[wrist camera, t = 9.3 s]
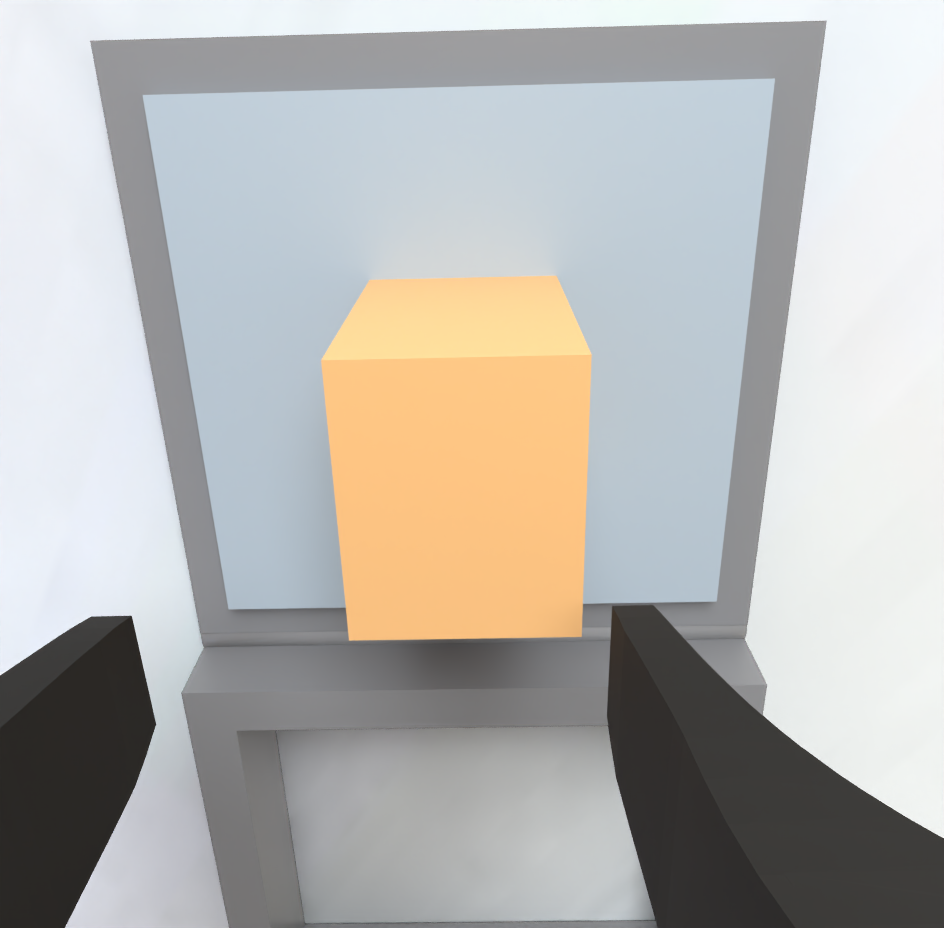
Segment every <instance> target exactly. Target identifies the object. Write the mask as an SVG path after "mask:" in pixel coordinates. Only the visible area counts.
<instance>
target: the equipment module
mask: <svg viewBox="0 0 944 928" xmlns="http://www.w3.org/2000/svg"><path fill="white" fill-rule="evenodd" d="M591 358H592V354H591V352H590V350H589V348H588V345H587V343H586V341H585V339H584V336H583V334H582V332H581V330H580V327H579V325H578V323H577V321H576V318H575V316H574V314H573V312H572V309H571V307H570V305H569V303H568V300H567V298H566V296H565V294H564V291H563V289H562V287H561V285H560V282H559V280H558V278H557V276H516V277H472V278H427V279H383V280H369V282H368V283H367V285H366V287H365V288H364V290H363V292H362V293H361V295H360V297H359V298H358V300H357V302H356V303H355V305H354V307H353V308H352V310H351V312H350V313H349V315H348V316H347V318H346V320H345V321H344V323H343V325H342V326H341V328H340V330H339V331H338V333H337V335H336V336H335V338H334V340H333V341H332V343H331V345H330V346H329V348H328V350H327V351H326V353H325V355H324V356H323V358H322V360H321V365H322V375H323V385H324V395H325V405H326V415H327V425H328V435H329V445H330V455H331V465H332V475H333V485H334V495H335V505H336V515H337V525H338V535H339V545H340V555H341V565H342V574H343V584H344V594H345V604H346V614H347V624H348V634H349V641H351V640H416V639H480V638H544V637H582V613H583V585H584V557H585V528H586V500H587V472H588V443H589V415H590V386H591Z"/></svg>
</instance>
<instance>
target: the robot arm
mask: <svg viewBox="0 0 944 928" xmlns="http://www.w3.org/2000/svg"><path fill="white" fill-rule="evenodd" d="M607 720H608V727H609V734H610V741H611V748H612V754H613V761H614V767H615V773H616V779H617V782H618V786H619V790H620V794H621V797H622V801H623V805H624V808H625V812H626V815H627V819H628V823H629V826H630V830H631V834H632V837H633V841H634V844H635V848H636V851H637V855H638V859H639V862H640V866H641V869H642V873H643V876H644V880H645V884H646V887H647V891H648V894H649V898H650V901H651V905H652V909H653V912H654V916H655V919H656V924H657V928H944V838H942V837H940V836H938V835H936V834H935V833H933V832H931V831H929V830H928V829H926V828H924V827H922V826H921V825H919V824H917V823H915V822H913V821H912V820H910V819H908V818H907V817H905V816H903V815H902V814H900V813H898V812H897V811H895V810H893V809H892V808H890V807H889V806H887V805H885V804H884V803H882V802H881V801H879V800H877V799H876V798H874V797H873V796H871V795H869V794H868V793H866V792H865V791H863V790H861V789H860V788H858V787H857V786H855V785H854V784H852V783H851V782H849V781H848V780H846V779H845V778H843V777H842V776H840V775H839V774H838V773H836V772H835V771H833V770H832V769H831V768H829V767H828V766H826V765H825V764H824V763H822V762H821V761H820V760H818V759H817V758H816V757H814V756H813V755H812V754H810V753H809V752H807V751H806V750H805V749H803V748H802V747H801V746H799V745H798V744H797V743H795V742H794V741H793V740H792V739H790V738H789V737H788V736H787V735H785V734H784V733H783V732H782V731H780V730H779V729H778V728H777V727H776V726H774V725H773V724H772V723H771V722H770V721H769V720H767V719H766V718H765V717H764V716H763V715H762V714H761V713H759V712H758V711H757V710H756V709H755V708H754V707H752V706H751V705H750V704H749V703H748V702H747V701H746V700H745V699H744V698H743V697H741V696H740V695H739V694H738V693H737V692H736V691H735V690H734V689H733V688H732V687H731V686H730V685H729V684H728V683H727V682H726V681H725V680H724V679H723V678H722V677H721V676H720V675H719V674H718V673H717V672H716V671H715V670H714V669H713V668H712V667H711V666H710V665H709V664H708V663H707V662H706V661H705V660H704V659H703V658H702V657H701V656H700V655H699V654H698V653H697V651H696V650H695V649H694V648H693V647H692V646H691V645H690V644H689V643H688V642H687V641H686V640H685V639H684V638H683V636H682V635H681V634H680V633H679V632H678V631H677V630H676V629H675V628H674V627H673V625H672V624H671V623H670V622H669V621H668V620H667V619H666V618H665V617H664V616H663V614H662V613H661V612H660V611H659V610H658V609H657V608H656V607H655V606H654V605H630V606H612V619H611V639H610V660H609V681H608V702H607ZM155 726H156V722H155V718H154V713H153V709H152V704H151V700H150V695H149V691H148V686H147V682H146V678H145V673H144V669H143V664H142V660H141V655H140V651H139V647H138V642H137V638H136V633H135V629H134V624H133V620H132V616H101V617H90V618H88V619H87V620H85V621H83V622H81V623H79V624H78V625H76V626H74V627H73V628H71V629H70V630H68V631H66V632H65V633H63V634H62V635H60V636H59V637H57V638H56V639H54V640H53V641H51V642H50V643H48V644H47V645H45V646H44V647H42V648H41V649H39V650H38V651H36V652H35V653H33V654H32V655H30V656H29V657H27V658H26V659H24V660H23V661H21V662H20V663H18V664H17V665H15V666H14V667H12V668H11V669H9V670H8V671H6V672H5V673H3V674H2V675H0V928H65V926H66V924H67V922H68V920H69V918H70V916H71V914H72V912H73V910H74V908H75V906H76V904H77V902H78V900H79V898H80V896H81V894H82V892H83V890H84V888H85V887H86V885H87V883H88V881H89V879H90V877H91V875H92V873H93V871H94V869H95V867H96V865H97V863H98V861H99V859H100V857H101V855H102V853H103V851H104V849H105V847H106V845H107V843H108V841H109V839H110V837H111V835H112V833H113V831H114V829H115V827H116V825H117V823H118V821H119V819H120V817H121V815H122V813H123V811H124V808H125V806H126V804H127V802H128V800H129V798H130V796H131V794H132V792H133V790H134V788H135V785H136V783H137V780H138V777H139V774H140V771H141V769H142V766H143V763H144V760H145V757H146V754H147V751H148V748H149V745H150V742H151V739H152V735H153V732H154V729H155Z"/></svg>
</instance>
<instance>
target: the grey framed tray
mask: <svg viewBox="0 0 944 928" xmlns="http://www.w3.org/2000/svg"><path fill="white" fill-rule="evenodd" d="M825 29H826V21H801V22H764V23H727V24H690V25H654V26H617V27H580V28H543V29H507V30H470V31H433V32H396V33H360V34H323V35H286V36H249V37H212V38H176V39H139V40H102V41H90V42H91V47H92V53H93V58H94V64H95V69H96V74H97V80H98V85H99V90H100V96H101V101H102V107H103V112H104V117H105V123H106V128H107V133H108V139H109V144H110V149H111V155H112V160H113V166H114V171H115V176H116V182H117V187H118V192H119V198H120V203H121V209H122V214H123V219H124V225H125V230H126V235H127V241H128V246H129V252H130V257H131V262H132V268H133V273H134V278H135V284H136V289H137V295H138V300H139V305H140V311H141V316H142V321H143V327H144V332H145V338H146V343H147V348H148V354H149V359H150V364H151V370H152V375H153V381H154V386H155V391H156V397H157V402H158V407H159V413H160V418H161V424H162V429H163V434H164V440H165V445H166V450H167V456H168V461H169V467H170V472H171V477H172V483H173V488H174V493H175V499H176V504H177V510H178V515H179V520H180V526H181V531H182V536H183V542H184V547H185V553H186V558H187V563H188V569H189V574H190V579H191V585H192V590H193V596H194V601H195V606H196V612H197V617H198V622H199V628H200V633H201V638H202V643H203V646H204V649H203V651H202V653H201V655H200V657H199V659H198V661H197V663H196V665H195V667H194V669H193V671H192V673H191V675H190V677H189V679H188V681H187V683H186V685H185V687H184V689H183V691H182V693H181V694H182V699H183V704H184V708H185V713H186V718H187V723H188V728H189V733H190V738H191V743H192V748H193V753H194V757H195V762H196V767H197V772H198V777H199V782H200V787H201V792H202V797H203V801H204V806H205V811H206V816H207V821H208V826H209V831H210V836H211V841H212V846H213V850H214V855H215V860H216V865H217V870H218V875H219V880H220V885H221V890H222V894H223V899H224V904H225V909H226V914H227V919H228V924H229V928H657V924H656V921H572V922H471V923H371V924H305V923H304V916H303V910H302V903H301V897H300V890H299V883H298V877H297V870H296V863H295V857H294V850H293V844H292V837H291V830H290V824H289V817H288V811H287V804H286V797H285V791H284V784H283V777H282V771H281V764H280V758H279V751H278V744H277V738H276V731H275V730H325V729H397V728H470V727H543V726H608V720H607V702H608V681H609V660H610V639H611V619H612V606H630V605H654V606H655V607H656V608H657V609H658V610H659V611H660V612H661V613H662V614H663V616H664V617H665V618H666V619H667V620H668V621H669V622H670V623H671V624H672V625H673V627H674V628H675V629H676V630H677V631H678V632H679V633H680V634H681V635H682V636H683V638H684V639H685V640H686V641H687V642H688V643H689V644H690V645H691V646H692V647H693V648H694V649H695V650H696V651H697V653H698V654H699V655H700V656H701V657H702V658H703V659H704V660H705V661H706V662H707V663H708V664H709V665H710V666H711V667H712V668H713V669H714V670H715V671H716V672H717V673H718V674H719V675H720V676H721V677H722V678H723V679H724V680H725V681H726V682H727V683H728V684H729V685H730V686H731V687H732V688H733V689H734V690H735V691H736V692H737V693H738V694H739V695H740V696H741V697H743V698H744V699H745V700H746V701H747V702H748V703H749V704H750V705H751V706H752V707H754V708H755V709H756V710H757V711H758V712H759V713H761V714H762V715H763V709H764V702H765V695H766V688H767V684H766V682H765V680H764V678H763V676H762V674H761V671H760V669H759V667H758V665H757V663H756V661H755V659H754V657H753V655H752V653H751V651H750V649H749V647H748V645H747V643H746V641H745V636H746V632H747V624H748V617H749V609H750V601H751V594H752V586H753V578H754V571H755V563H756V556H757V548H758V540H759V533H760V525H761V517H762V510H763V502H764V494H765V487H766V479H767V472H768V464H769V456H770V449H771V441H772V433H773V426H774V418H775V410H776V403H777V395H778V388H779V380H780V372H781V365H782V357H783V349H784V342H785V334H786V326H787V319H788V311H789V304H790V296H791V288H792V281H793V273H794V265H795V258H796V250H797V242H798V235H799V227H800V219H801V212H802V204H803V197H804V189H805V181H806V174H807V166H808V158H809V151H810V143H811V135H812V128H813V120H814V113H815V105H816V97H817V90H818V82H819V74H820V67H821V59H822V51H823V44H824V36H825ZM516 276H557V278H558V280H559V282H560V285H561V287H562V289H563V291H564V294H565V296H566V298H567V300H568V303H569V305H570V307H571V309H572V312H573V314H574V316H575V318H576V321H577V323H578V325H579V327H580V330H581V332H582V334H583V336H584V339H585V341H586V343H587V345H588V348H589V350H590V352H591V354H592V358H591V386H590V415H589V443H588V472H587V500H586V528H585V557H584V585H583V613H582V637H544V638H480V639H416V640H351V641H349V634H348V624H347V614H346V604H345V594H344V584H343V574H342V565H341V555H340V545H339V535H338V525H337V515H336V505H335V495H334V485H333V475H332V465H331V455H330V445H329V435H328V425H327V415H326V405H325V395H324V385H323V375H322V365H321V360H322V358H323V356H324V355H325V353H326V351H327V350H328V348H329V346H330V345H331V343H332V341H333V340H334V338H335V336H336V335H337V333H338V331H339V330H340V328H341V326H342V325H343V323H344V321H345V320H346V318H347V316H348V315H349V313H350V312H351V310H352V308H353V307H354V305H355V303H356V302H357V300H358V298H359V297H360V295H361V293H362V292H363V290H364V288H365V287H366V285H367V283H368V282H369V280H383V279H427V278H472V277H516Z"/></svg>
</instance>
